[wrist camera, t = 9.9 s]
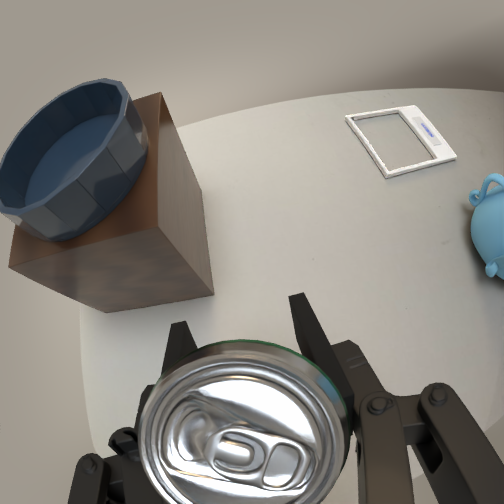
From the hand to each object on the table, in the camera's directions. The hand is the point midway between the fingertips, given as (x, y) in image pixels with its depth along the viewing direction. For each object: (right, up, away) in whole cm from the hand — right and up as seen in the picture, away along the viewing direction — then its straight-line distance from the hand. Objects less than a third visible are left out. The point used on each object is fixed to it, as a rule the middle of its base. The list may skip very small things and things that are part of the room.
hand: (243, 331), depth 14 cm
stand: (-14, +4, +28) cm, 32 cm away
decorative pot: (+43, +5, +23) cm, 49 cm away
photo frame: (+29, +25, +33) cm, 50 cm away
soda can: (+1, -5, +2) cm, 5 cm away
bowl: (-16, +12, +10) cm, 22 cm away
